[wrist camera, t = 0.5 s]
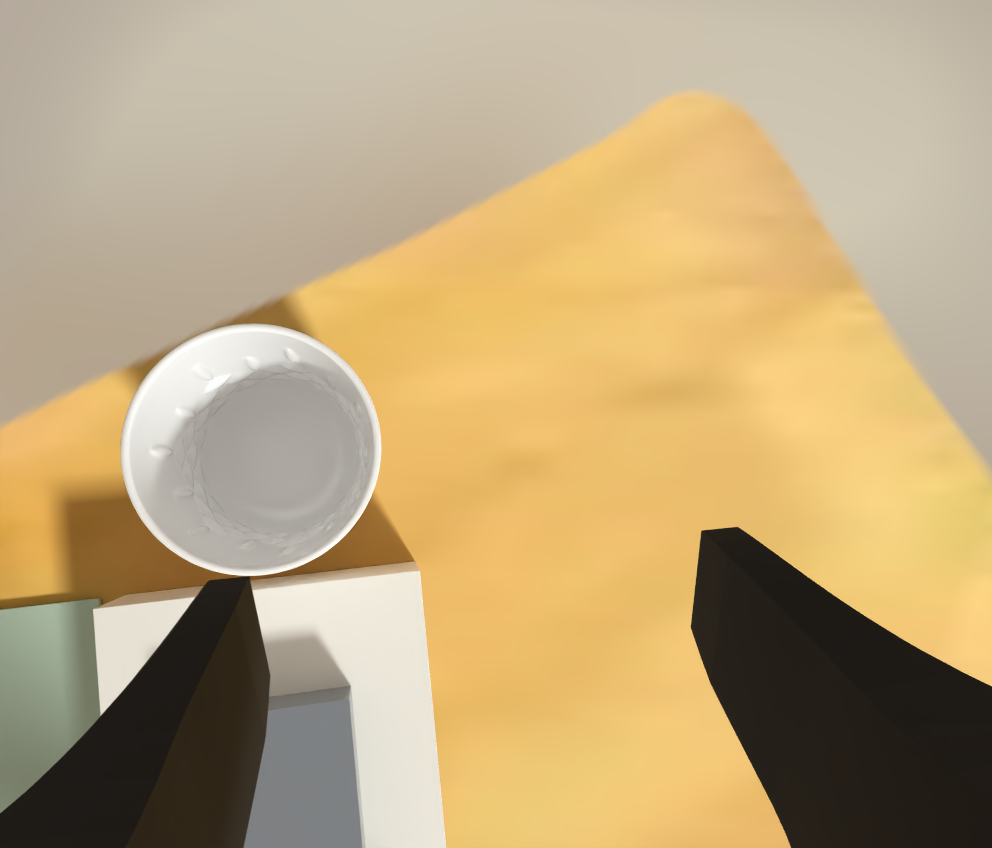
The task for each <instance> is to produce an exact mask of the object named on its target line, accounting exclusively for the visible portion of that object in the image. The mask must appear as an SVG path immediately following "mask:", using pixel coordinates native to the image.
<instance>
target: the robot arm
mask: <svg viewBox="0 0 992 848" xmlns="http://www.w3.org/2000/svg"><path fill="white" fill-rule="evenodd" d="M691 629H692V632H693V635H694V638H695V641H696V644H697V647H698V650H699V653H700V656H701V659H702V661H703V664H704V667H705V669H706V672H707V675H708V678H709V680H710V683H711V685H712V687H713V689H714V691H715V693H716V695H717V697H718V699H719V701H720V703H721V705H722V707H723V709H724V711H725V713H726V715H727V717H728V719H729V721H730V723H731V725H732V727H733V729H734V731H735V733H736V735H737V737H738V739H739V741H740V743H741V744H742V746H743V748H744V750H745V752H746V754H747V756H748V758H749V760H750V762H751V764H752V766H753V768H754V770H755V772H756V774H757V776H758V778H759V779H760V781H761V783H762V785H763V787H764V789H765V791H766V793H767V795H768V797H769V799H770V801H771V803H772V805H773V807H774V809H775V811H776V813H777V816H778V818H779V820H780V822H781V824H782V826H783V829H784V831H785V833H786V836H787V838H788V841H789V843H790V846H791V848H992V686H990V685H987V684H985V683H983V682H981V681H979V680H977V679H975V678H973V677H971V676H969V675H967V674H965V673H963V672H961V671H959V670H957V669H955V668H954V667H952V666H950V665H948V664H946V663H944V662H942V661H940V660H939V659H937V658H935V657H933V656H931V655H929V654H927V653H925V652H924V651H922V650H920V649H918V648H916V647H915V646H913V645H911V644H910V643H908V642H906V641H904V640H903V639H901V638H899V637H898V636H896V635H894V634H893V633H891V632H890V631H888V630H886V629H885V628H883V627H881V626H880V625H878V624H877V623H875V622H873V621H872V620H870V619H869V618H867V617H865V616H864V615H862V614H861V613H859V612H858V611H856V610H855V609H853V608H852V607H850V606H849V605H847V604H846V603H844V602H843V601H841V600H840V599H838V598H837V597H835V596H834V595H832V594H831V593H830V592H828V591H827V590H825V589H824V588H822V587H821V586H819V585H818V584H817V583H815V582H814V581H812V580H811V579H810V578H808V577H807V576H805V575H804V574H803V573H801V572H800V571H798V570H797V569H796V568H794V567H793V566H792V565H790V564H789V563H787V562H786V561H785V560H783V559H782V558H781V557H779V556H778V555H777V554H775V553H774V552H772V551H771V550H770V549H768V548H767V547H766V546H764V545H763V544H761V543H760V542H759V541H757V540H756V539H755V538H753V537H752V536H750V535H749V534H747V533H746V532H744V531H743V530H741V529H740V528H738V527H733V528H723V529H713V530H703V531H701V540H700V549H699V558H698V567H697V576H696V586H695V595H694V604H693V613H692V622H691ZM269 689H270V671H269V666H268V661H267V657H266V652H265V647H264V643H263V638H262V633H261V629H260V624H259V619H258V614H257V610H256V605H255V600H254V596H253V591H252V586H251V582H250V577H239V578H229V579H219V580H210V581H208V582H207V583H206V584H205V585H204V587H203V588H202V589H201V590H200V592H199V593H198V594H197V596H196V597H195V598H194V600H193V601H192V603H191V604H190V605H189V607H188V608H187V609H186V611H185V612H184V613H183V615H182V616H181V618H180V619H179V620H178V622H177V623H176V624H175V626H174V627H173V628H172V630H171V631H170V632H169V634H168V635H167V636H166V637H165V639H164V640H163V641H162V643H161V644H160V645H159V647H158V648H157V649H156V650H155V652H154V653H153V654H152V655H151V657H150V658H149V659H148V660H147V662H146V663H145V664H144V665H143V667H142V668H141V669H140V670H139V672H138V673H137V674H136V675H135V677H134V678H133V679H132V680H131V682H130V683H129V684H128V685H127V686H126V688H125V689H124V690H123V691H122V692H121V693H120V694H119V696H118V697H117V698H116V699H115V700H114V701H113V702H112V703H111V705H110V706H109V707H108V708H107V709H106V710H105V711H104V713H103V714H102V715H101V716H100V717H99V718H98V719H97V720H96V722H95V723H94V724H93V725H92V726H91V727H90V728H89V729H88V730H87V732H86V733H85V734H84V735H83V736H82V737H81V738H80V739H79V740H78V741H77V742H76V743H75V744H74V745H73V746H72V747H71V748H70V749H69V750H68V751H67V752H66V753H65V754H64V755H63V756H62V757H61V758H60V760H58V761H57V762H56V763H55V764H54V765H53V766H52V767H51V768H50V769H49V770H48V771H47V772H46V773H45V774H44V775H43V776H42V777H41V778H40V779H39V780H38V781H37V782H36V783H34V784H33V785H32V786H31V787H30V788H29V789H28V790H27V791H26V792H25V793H23V794H22V795H21V796H20V797H19V798H18V799H16V800H15V801H14V802H13V803H12V804H11V805H9V806H8V807H7V808H6V809H5V810H3V811H2V812H1V813H0V848H244V843H245V839H246V834H247V829H248V824H249V819H250V814H251V809H252V804H253V799H254V794H255V789H256V784H257V779H258V774H259V769H260V764H261V759H262V754H263V749H264V744H265V738H266V728H267V717H268V704H269Z"/></svg>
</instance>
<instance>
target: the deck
mask: <svg viewBox="0 0 992 848" xmlns="http://www.w3.org/2000/svg"><path fill="white" fill-rule="evenodd" d="M250 582H251V586H252V591H253V596H254V600H255V605H256V610H257V614H258V619H259V624H260V629H261V633H262V638H263V643H264V647H265V652H266V657H267V661H268V666H269V671H270V689H269V697H272V696H279V695H286V694H294V693H301V692H308V691H316V690H323V689H330V688H337V687H345V686H351V691H352V702H353V713H354V724H355V735H356V747H357V758H358V769H359V780H360V791H361V803H362V814H363V825H364V836H365V847H366V848H446V841H445V830H444V820H443V809H442V798H441V788H440V777H439V767H438V756H437V746H436V735H435V725H434V714H433V704H432V693H431V683H430V672H429V662H428V651H427V641H426V630H425V619H424V609H423V598H422V588H421V577H420V570H419V568H418V566H417V564H416V562H415V561H413V562H405V563H396V564H387V565H379V566H370V567H361V568H353V569H344V570H336V571H327V572H318V573H310V574H301V575H292V576H284V577H275V578H267V579H258V580H250ZM203 587H204V586H198V587H189V588H180V589H172V590H163V591H154V592H146V593H137V594H129V595H124V596H122V597H120V598H118V599H115V600H113V601H111V602H108V603H106V604H104V605H101V606H99V607H97V608H95V609H93V616H94V630H95V644H96V658H97V672H98V686H99V700H100V714H101V715H102V714H103V713H104V711H105V710H106V709H107V708H108V707H109V706H110V705H111V703H112V702H113V701H114V700H115V699H116V698H117V697H118V696H119V694H120V693H121V692H122V691H123V690H124V689H125V688H126V686H127V685H128V684H129V683H130V682H131V680H132V679H133V678H134V677H135V675H136V674H137V673H138V672H139V670H140V669H141V668H142V667H143V665H144V664H145V663H146V662H147V660H148V659H149V658H150V657H151V655H152V654H153V653H154V652H155V650H156V649H157V648H158V647H159V645H160V644H161V643H162V641H163V640H164V639H165V637H166V636H167V635H168V634H169V632H170V631H171V630H172V628H173V627H174V626H175V624H176V623H177V622H178V620H179V619H180V618H181V616H182V615H183V613H184V612H185V611H186V609H187V608H188V607H189V605H190V604H191V603H192V601H193V600H194V598H195V597H196V596H197V594H198V593H199V592H200V590H201V589H202V588H203Z"/></svg>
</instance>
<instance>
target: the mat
mask: <svg viewBox="0 0 992 848" xmlns="http://www.w3.org/2000/svg"><path fill="white" fill-rule="evenodd" d="M99 606H101V598H94V599H85V600H77V601H68V602H60V603H51V604H42V605H34V606H25V607H16V608H8V609H0V813H1V812H2V811H3V810H5V809H6V808H7V807H8V806H9V805H11V804H12V803H13V802H14V801H15V800H16V799H18V798H19V797H20V796H21V795H22V794H23V793H25V792H26V791H27V790H28V789H29V788H30V787H31V786H32V785H33V784H34V783H36V782H37V781H38V780H39V779H40V778H41V777H42V776H43V775H44V774H45V773H46V772H47V771H48V770H49V769H50V768H51V767H52V766H53V765H54V764H55V763H56V762H57V761H58V760H60V758H61V757H62V756H63V755H64V754H65V753H66V752H67V751H68V750H69V749H70V748H71V747H72V746H73V745H74V744H75V743H76V742H77V741H78V740H79V739H80V738H81V737H82V736H83V735H84V734H85V733H86V732H87V730H88V729H89V728H90V727H91V726H92V725H93V724H94V723H95V722H96V720H97V719H98V718H99V717H100V716H101V714H100V700H99V686H98V672H97V658H96V644H95V630H94V616H93V609H95V608H97V607H99Z"/></svg>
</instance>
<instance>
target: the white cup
mask: <svg viewBox="0 0 992 848" xmlns="http://www.w3.org/2000/svg"><path fill="white" fill-rule="evenodd" d="M380 462H381V434H380V427H379V422H378V418H377V414H376V411H375V408H374V405H373V402H372V400H371V398H370V395H369V393H368V391H367V390H366V388H365V386H364V384H363V383H362V381H361V380H360V378H359V377H358V375H357V374H356V373H355V371H354V370H353V369H352V368H351V367H350V366H349V364H348V363H347V362H346V361H345V360H344V359H343V358H342V357H340V356H339V355H338V354H337V353H336V352H335V351H333V350H332V349H331V348H329V347H328V346H326V345H325V344H323V343H322V342H320V341H318V340H316V339H315V338H313V337H311V336H309V335H306V334H304V333H301V332H299V331H296V330H293V329H290V328H286V327H282V326H277V325H271V324H260V323H246V324H235V325H229V326H224V327H220V328H216V329H213V330H210V331H207V332H204V333H202V334H199V335H197V336H195V337H193V338H191V339H189V340H187V341H185V342H184V343H182V344H180V345H179V346H177V347H176V348H174V349H173V350H172V351H170V352H169V353H168V354H167V355H166V356H164V357H163V358H162V359H161V360H160V361H159V362H158V363H157V364H156V365H155V366H154V367H153V368H152V369H151V371H150V372H149V373H148V374H147V376H146V377H145V378H144V380H143V381H142V383H141V384H140V386H139V387H138V389H137V391H136V393H135V395H134V397H133V399H132V401H131V403H130V405H129V408H128V411H127V414H126V417H125V421H124V425H123V430H122V437H121V466H122V473H123V478H124V482H125V486H126V489H127V492H128V495H129V497H130V500H131V502H132V504H133V506H134V508H135V510H136V512H137V513H138V515H139V517H140V518H141V520H142V521H143V523H144V524H145V525H146V527H147V528H148V529H149V530H150V531H151V533H152V534H153V535H154V536H155V537H156V538H157V539H158V540H159V541H160V542H161V543H162V544H164V545H165V546H166V547H167V548H168V549H170V550H171V551H173V552H174V553H175V554H177V555H178V556H180V557H182V558H183V559H185V560H187V561H189V562H191V563H193V564H195V565H198V566H200V567H203V568H205V569H208V570H212V571H215V572H219V573H224V574H230V575H240V576H258V575H268V574H274V573H279V572H283V571H286V570H290V569H293V568H296V567H298V566H301V565H303V564H305V563H307V562H309V561H311V560H313V559H315V558H317V557H319V556H320V555H322V554H323V553H325V552H326V551H328V550H329V549H330V548H332V547H333V546H334V545H335V544H337V543H338V542H339V541H340V540H341V539H342V538H343V537H344V536H345V535H346V534H347V533H348V532H349V531H350V530H351V528H352V527H353V526H354V525H355V523H356V522H357V521H358V519H359V518H360V516H361V515H362V513H363V512H364V510H365V508H366V506H367V504H368V502H369V500H370V498H371V496H372V493H373V491H374V488H375V485H376V482H377V478H378V474H379V469H380Z"/></svg>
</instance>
